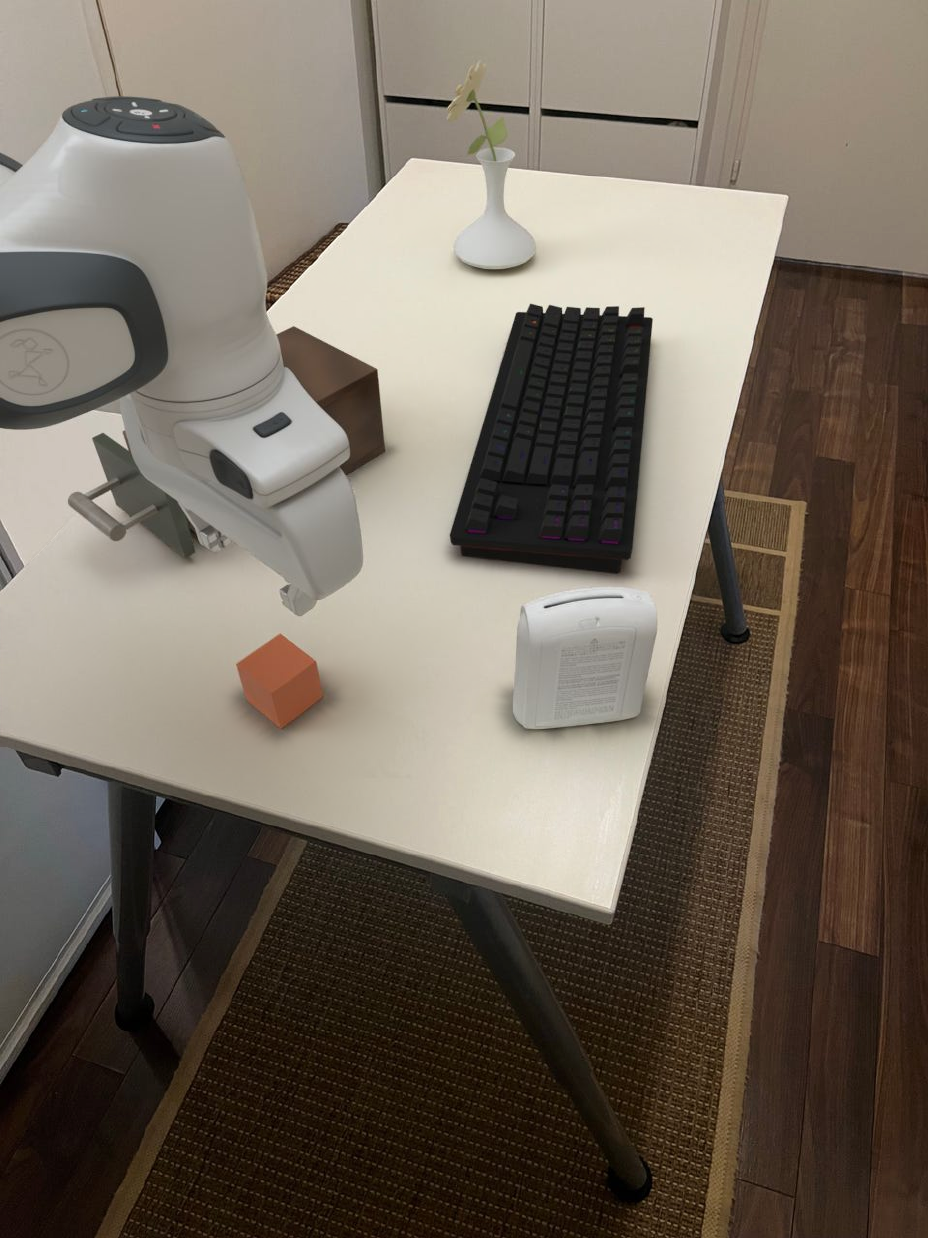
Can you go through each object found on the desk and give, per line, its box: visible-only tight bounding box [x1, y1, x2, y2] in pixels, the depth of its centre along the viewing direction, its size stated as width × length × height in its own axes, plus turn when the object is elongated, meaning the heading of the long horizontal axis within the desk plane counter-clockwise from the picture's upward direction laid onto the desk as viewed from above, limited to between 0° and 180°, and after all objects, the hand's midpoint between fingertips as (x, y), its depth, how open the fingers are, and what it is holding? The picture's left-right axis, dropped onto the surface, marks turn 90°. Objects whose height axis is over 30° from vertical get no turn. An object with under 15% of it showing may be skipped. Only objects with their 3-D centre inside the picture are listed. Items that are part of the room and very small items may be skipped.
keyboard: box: [449, 303, 654, 575], centre depth 97 cm, size 42×16×5 cm, turn 169°
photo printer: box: [512, 586, 658, 730], centre depth 69 cm, size 10×4×12 cm, turn 98°
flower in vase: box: [446, 59, 537, 270], centre depth 119 cm, size 13×11×25 cm
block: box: [235, 633, 324, 730], centre depth 73 cm, size 4×4×4 cm
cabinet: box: [276, 325, 386, 476], centre depth 93 cm, size 15×13×10 cm
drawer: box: [67, 429, 197, 559], centre depth 87 cm, size 19×12×8 cm, turn 137°
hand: (257, 574), depth 64 cm, fingers open, 8 cm apart
